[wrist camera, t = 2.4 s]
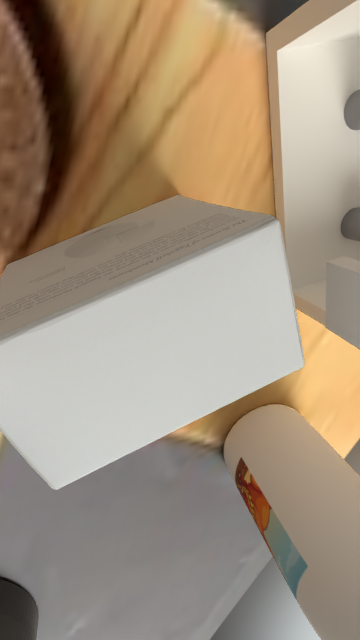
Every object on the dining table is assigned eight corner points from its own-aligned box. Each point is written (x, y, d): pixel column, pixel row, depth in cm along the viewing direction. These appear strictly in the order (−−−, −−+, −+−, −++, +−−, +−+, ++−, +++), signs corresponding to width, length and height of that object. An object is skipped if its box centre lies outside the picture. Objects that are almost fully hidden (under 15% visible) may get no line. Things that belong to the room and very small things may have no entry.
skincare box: (63, 356, 21) (52, 501, 11) (5, 263, 18) (-74, 357, 9) (212, 289, 22) (312, 373, 13) (181, 191, 19) (281, 205, 10)
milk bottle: (234, 400, 26) (565, 873, 8) (313, 400, 29) (695, 764, 11) (211, 474, 29) (426, 957, 11) (285, 469, 31) (557, 853, 13)
